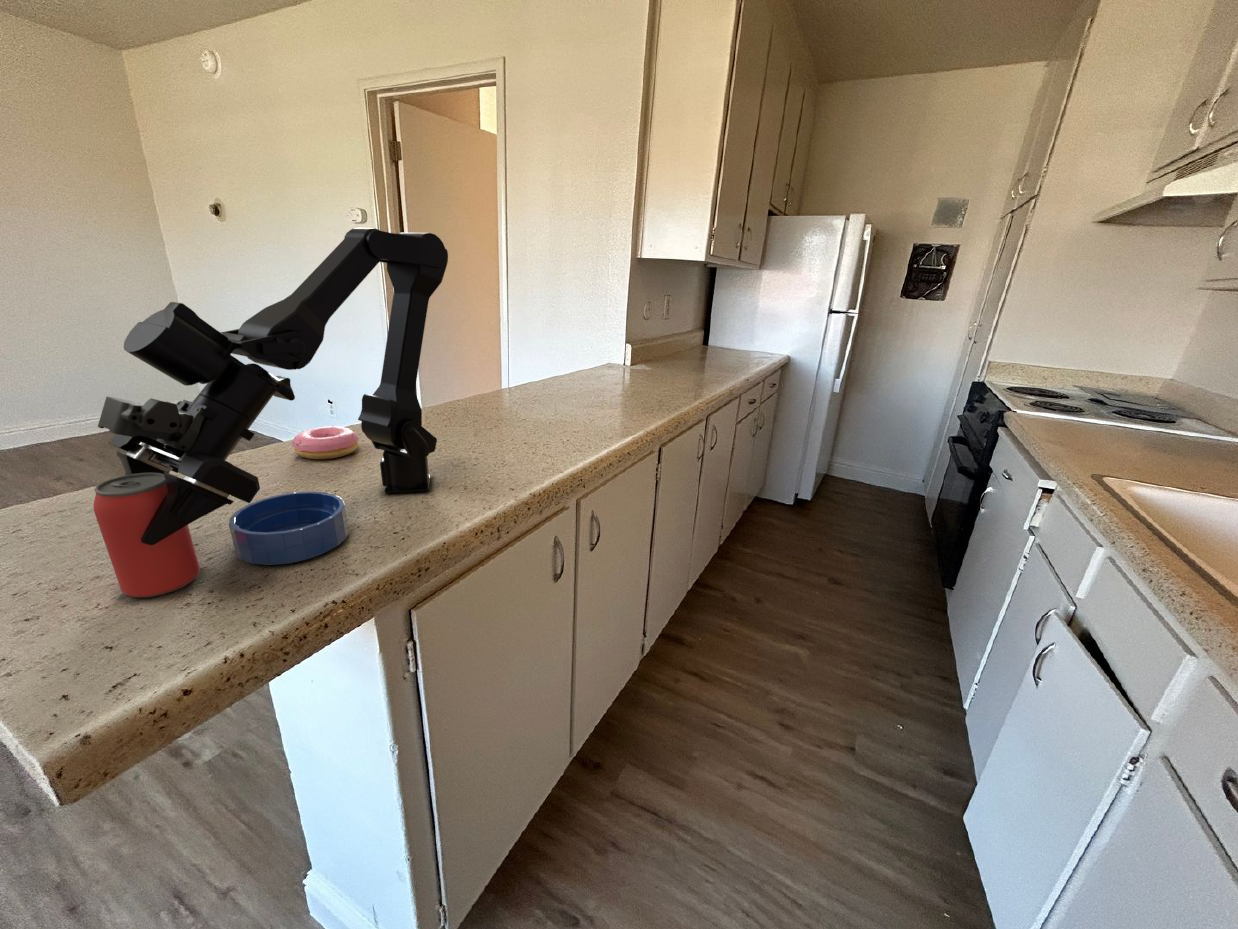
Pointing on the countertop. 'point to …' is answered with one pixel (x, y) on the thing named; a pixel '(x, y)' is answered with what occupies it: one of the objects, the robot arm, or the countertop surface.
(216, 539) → the countertop surface
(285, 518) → the bowl
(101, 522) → the beer can
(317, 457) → the doughnut
